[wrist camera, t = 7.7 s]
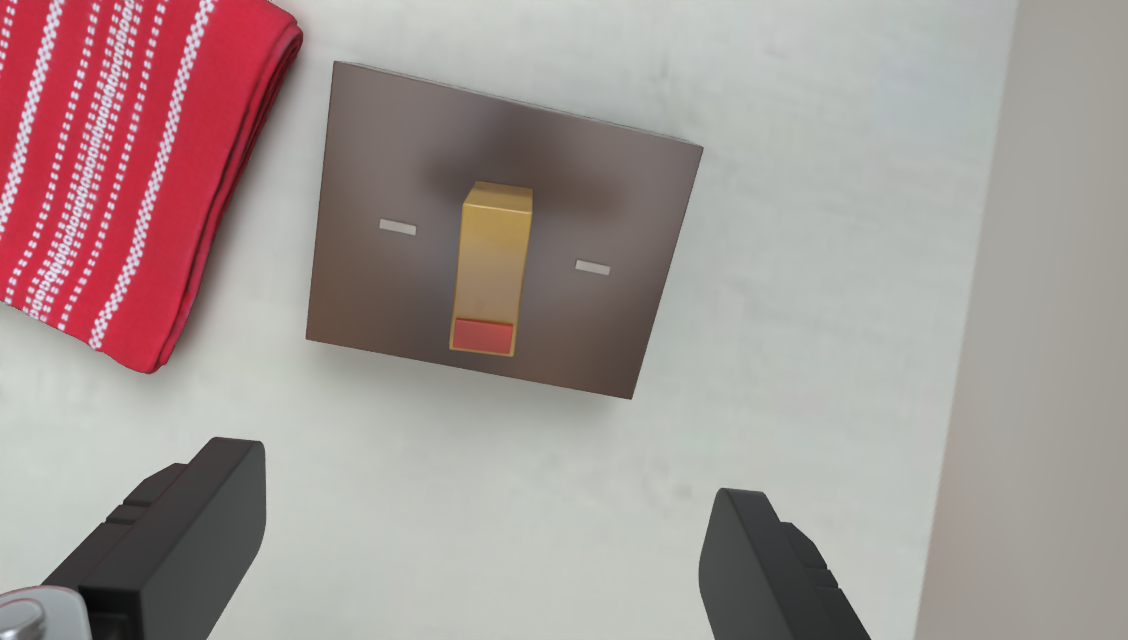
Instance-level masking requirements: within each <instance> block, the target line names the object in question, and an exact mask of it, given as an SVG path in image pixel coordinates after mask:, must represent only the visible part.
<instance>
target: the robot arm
mask: <svg viewBox="0 0 1128 640" xmlns="http://www.w3.org/2000/svg"><path fill="white" fill-rule="evenodd" d="M265 525H266V470H265V448H264V445H263V443H262V442H261V441H253V440H243V439H233V438H223V437H214V438H212V439H211V440H210V441H209V442H208V443H207V444H206V445H205V446H204V447H203V448H202V449H201V450H200V451H199V452H198V454H197V455H196V456H195V457H194V458H193V459H192V460H191V461H190V462H189V463H188V464H180V463H174V464H172V465H170V466H168V467H166V468H165V469H163V470H161V471H159V472H157V473H155V474H153V475H152V476H150V477H148V478H146V479H144V480H143V481H142V482H141V483H140V484H139V485H138V486H137V487H136V488H135V489H134V490H133V491H132V492H131V493H130V494H129V495H128V496H127V497H126V498H125V499H124V500H123V504H122V505H119V506H118V507H117V508H116V509H115V510H114V511H113V512H112V513H111V514H110V515H109V516H108V517H107V518H106V521H105V523H101V524H100V525H99V526H98V527H97V528H96V529H95V530H94V531H93V532H92V533H91V534H90V535H89V536H88V537H87V538H86V539H85V540H84V541H83V542H82V543H81V544H80V545H79V546H78V547H77V548H76V549H75V550H74V551H73V552H72V553H71V554H70V555H69V556H68V557H67V558H66V559H65V560H64V561H63V562H62V563H61V564H60V565H59V566H58V567H57V568H56V569H55V570H54V571H53V572H52V573H51V574H50V575H49V576H48V577H47V578H46V579H45V580H44V581H43V583H42V584H41V585H40V586H32V587H26V588H21V589H17V590H13V591H10V592H7V593H4V594H1V595H0V640H206V639H207V638H208V636H209V634H210V633H211V631H212V629H213V627H214V626H215V624H216V622H217V621H218V619H219V617H220V616H221V614H222V612H223V611H224V609H225V607H226V606H227V604H228V602H229V601H230V599H231V597H232V595H233V594H234V592H235V590H236V589H237V587H238V585H239V584H240V582H241V580H242V579H243V577H244V575H245V574H246V572H247V570H248V569H249V567H250V565H251V564H252V562H253V560H254V558H255V557H256V555H257V553H258V551H259V548H260V546H261V543H262V540H263V536H264V531H265ZM699 587H700V593H701V597H702V600H703V603H704V606H705V609H706V612H707V616H708V619H709V622H710V625H711V628H712V632H713V635H714V638H715V640H871V638H870V637H869V635H868V633H867V632H866V630H865V628H864V627H863V625H862V623H861V622H860V620H859V618H858V617H857V615H856V613H855V612H854V610H853V608H852V606H851V605H850V603H849V601H848V600H847V598H846V596H845V595H844V593H843V591H842V590H841V589H838V583H837V581H836V579H835V578H834V576H833V574H832V573H831V571H830V570H827V564H826V563H825V561H824V559H823V558H822V556H821V554H820V552H819V551H818V549H817V547H816V546H815V544H814V543H813V542H812V541H811V540H810V539H809V538H808V537H807V536H805V535H804V534H803V533H802V532H801V531H800V530H799V529H798V528H797V527H795V526H794V525H793V524H792V523H788V522H780V520H779V518H778V516H777V515H776V513H775V511H774V509H773V507H772V505H771V504H770V502H769V500H768V498H767V496H766V495H765V494H764V493H763V492H759V491H749V490H739V489H729V488H721V489H719V491H718V492H717V494H716V497H715V500H714V504H713V508H712V512H711V516H710V520H709V524H708V528H707V532H706V536H705V540H704V544H703V548H702V552H701V556H700V562H699Z"/></svg>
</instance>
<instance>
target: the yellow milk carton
mask: <svg viewBox="0 0 1128 640" xmlns="http://www.w3.org/2000/svg"><path fill="white" fill-rule="evenodd" d="M532 201H533V190H532V189H531V188H525V187H518V186H511V185H504V184H497V183H490V182H483V181H476V182H475V184H474V186H473V188H472V189H471V191H470V193H469V195H468V196H467V198H466V200H465V202H464V203H463V206H462V216H461V227H460V237H459V248H458V258H457V268H456V279H455V289H454V300H453V310H452V321H451V331H450V341H449V349H451V350H460V351H468V352H477V353H485V354H493V355H502V356H510V357H512V356H513V355H514V350H515V342H516V335H517V327H518V319H519V312H520V304H521V297H522V289H523V281H524V274H525V266H526V259H527V251H528V244H529V236H530V228H531V221H532Z"/></svg>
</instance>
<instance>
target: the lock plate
mask: <svg viewBox="0 0 1128 640" xmlns="http://www.w3.org/2000/svg"><path fill="white" fill-rule="evenodd" d="M703 149H704V147H702V146H700V145H697V144H695V143H692V142H690V141H687V140H683V139H679V138H675V137H670V136H666V135H662V134H658V133H653V132H649V131H645V130H640V129H636V128H632V127H628V126H623V125H619V124H615V123H611V122H606V121H602V120H598V119H594V118H589V117H585V116H581V115H576V114H572V113H568V112H564V111H559V110H555V109H551V108H547V107H542V106H538V105H534V104H530V103H525V102H521V101H517V100H512V99H508V98H504V97H500V96H495V95H491V94H487V93H483V92H478V91H474V90H470V89H466V88H461V87H457V86H453V85H448V84H444V83H440V82H436V81H431V80H427V79H423V78H419V77H414V76H410V75H406V74H402V73H397V72H393V71H389V70H384V69H380V68H376V67H372V66H367V65H363V64H359V63H353V62H343V61H334V64H333V74H332V84H331V94H330V103H329V113H328V123H327V133H326V142H325V152H324V162H323V172H322V181H321V191H320V201H319V211H318V221H317V230H316V240H315V250H314V260H313V269H312V279H311V289H310V299H309V309H308V318H307V328H306V339H307V340H312V341H317V342H323V343H328V344H334V345H339V346H344V347H350V348H355V349H360V350H366V351H371V352H377V353H382V354H387V355H393V356H398V357H404V358H409V359H414V360H420V361H425V362H430V363H436V364H441V365H447V366H452V367H457V368H463V369H468V370H474V371H479V372H484V373H490V374H495V375H500V376H506V377H511V378H517V379H522V380H527V381H533V382H538V383H543V384H549V385H554V386H560V387H565V388H570V389H576V390H581V391H587V392H592V393H597V394H603V395H608V396H613V397H619V398H624V399H630V400H631V399H632V397H633V394H634V390H635V387H636V383H637V380H638V376H639V373H640V369H641V366H642V362H643V359H644V355H645V352H646V348H647V345H648V341H649V338H650V334H651V331H652V327H653V324H654V320H655V317H656V313H657V310H658V306H659V303H660V299H661V296H662V292H663V289H664V285H665V282H666V278H667V275H668V271H669V268H670V264H671V261H672V257H673V254H674V250H675V247H676V243H677V240H678V237H679V233H680V230H681V226H682V223H683V219H684V216H685V212H686V209H687V205H688V202H689V198H690V195H691V191H692V188H693V184H694V181H695V177H696V174H697V170H698V167H699V163H700V160H701V156H702V153H703ZM476 181H483V182H490V183H497V184H504V185H511V186H518V187H525V188H531V189H532V190H533V201H532V221H531V228H530V236H529V244H528V251H527V259H526V266H525V274H524V281H523V289H522V297H521V304H520V312H519V319H518V327H517V335H516V342H515V350H514V355H513V356H512V357H510V356H502V355H493V354H485V353H477V352H468V351H460V350H451V349H449V341H450V331H451V321H452V310H453V300H454V289H455V279H456V268H457V258H458V248H459V237H460V227H461V216H462V206H463V203H464V202H465V200H466V198H467V196H468V195H469V193H470V191H471V189H472V188H473V186H474V184H475V182H476Z"/></svg>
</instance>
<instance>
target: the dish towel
mask: <svg viewBox="0 0 1128 640" xmlns="http://www.w3.org/2000/svg"><path fill="white" fill-rule="evenodd" d="M302 42H303V32H302V30H301V29H300V28H299V27H298V26H297V21H296V19H295V18H294V17H293V16H292V15H291V14H290V13H288V12H286V11H284V10H283V9H281V8H279V7H277V6H276V5H274V4H272V3H271V2H269V1H267V0H0V301H2V302H3V303H5V304H6V305H8V306H12V307H15V308H16V309H18V310H20V311H21V312H23V313H24V314H26V315H28V316H31V317H32V318H34V319H36V320H38V321H41V322H43V323H45V324H47V325H49V326H51V327H53V328H56V329H58V330H60V331H62V332H64V333H66V334H69V335H71V336H73V337H75V338H77V339H79V340H81V341H83V342H85V343H86V344H88V345H89V346H90V347H91V348H92V349H93V350H95V351H99V352H104V353H105V354H107V355H109V356H110V357H112V358H113V359H114V360H115V361H117V362H118V363H120V364H122V365H123V366H125V367H127V368H130V369H132V370H135V371H138V372H141V373H146V374H152V373H154V372H156V371H157V370H158V369H159V368H160V367H161V366H162V365H166V364H167V362H168V360H169V358H170V355H171V354H172V352H173V350H174V347H175V344H176V342H177V340H178V338H179V337H180V335H181V333H182V331H183V329H184V327H185V324H186V322H187V319H188V316H189V313H190V310H191V308H192V305H193V302H194V300H195V298H196V295H197V292H198V289H199V286H200V283H201V279H202V276H203V272H204V268H205V264H206V260H207V256H208V253H209V249H210V246H211V244H212V242H213V239H214V237H215V234H216V231H217V229H218V226H219V224H220V222H221V219H222V217H223V215H224V213H225V210H226V208H227V206H228V204H229V202H230V199H231V197H232V194H233V192H234V189H235V187H236V185H237V183H238V180H239V178H240V176H241V174H242V172H243V170H244V168H245V166H246V164H247V162H248V159H249V156H250V154H251V151H252V149H253V147H254V144H255V142H256V139H257V137H258V134H259V132H260V130H261V128H262V126H263V124H264V122H265V121H266V117H267V114H268V112H269V110H270V108H271V106H272V103H273V101H274V99H275V96H276V94H277V92H278V90H279V88H280V86H281V84H282V82H283V79H284V77H285V75H286V73H287V71H288V69H289V67H290V66H291V64H292V62H293V61H294V59H295V58H296V56H297V54H298V52H299V50H300V47H301V45H302Z"/></svg>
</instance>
